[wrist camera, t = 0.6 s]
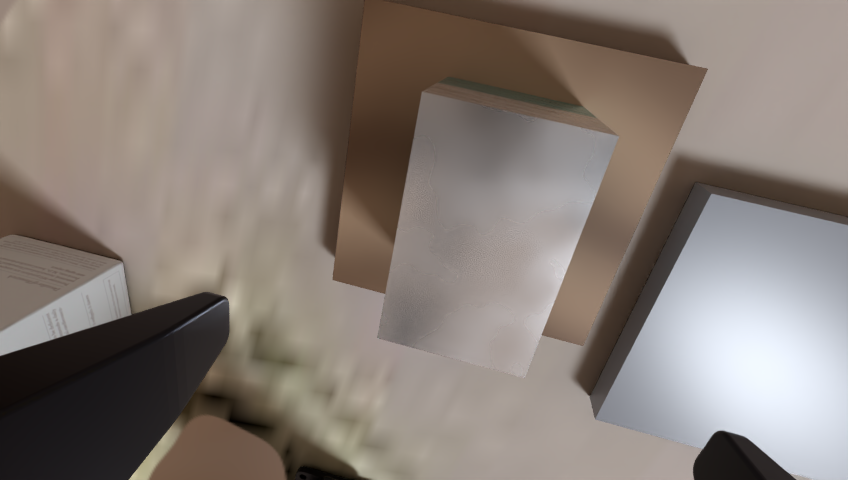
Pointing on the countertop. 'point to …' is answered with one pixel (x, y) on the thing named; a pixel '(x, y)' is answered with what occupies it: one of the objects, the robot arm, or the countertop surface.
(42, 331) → the supplement box
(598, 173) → the block
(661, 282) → the slate stand
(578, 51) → the walnut stand
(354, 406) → the countertop surface
